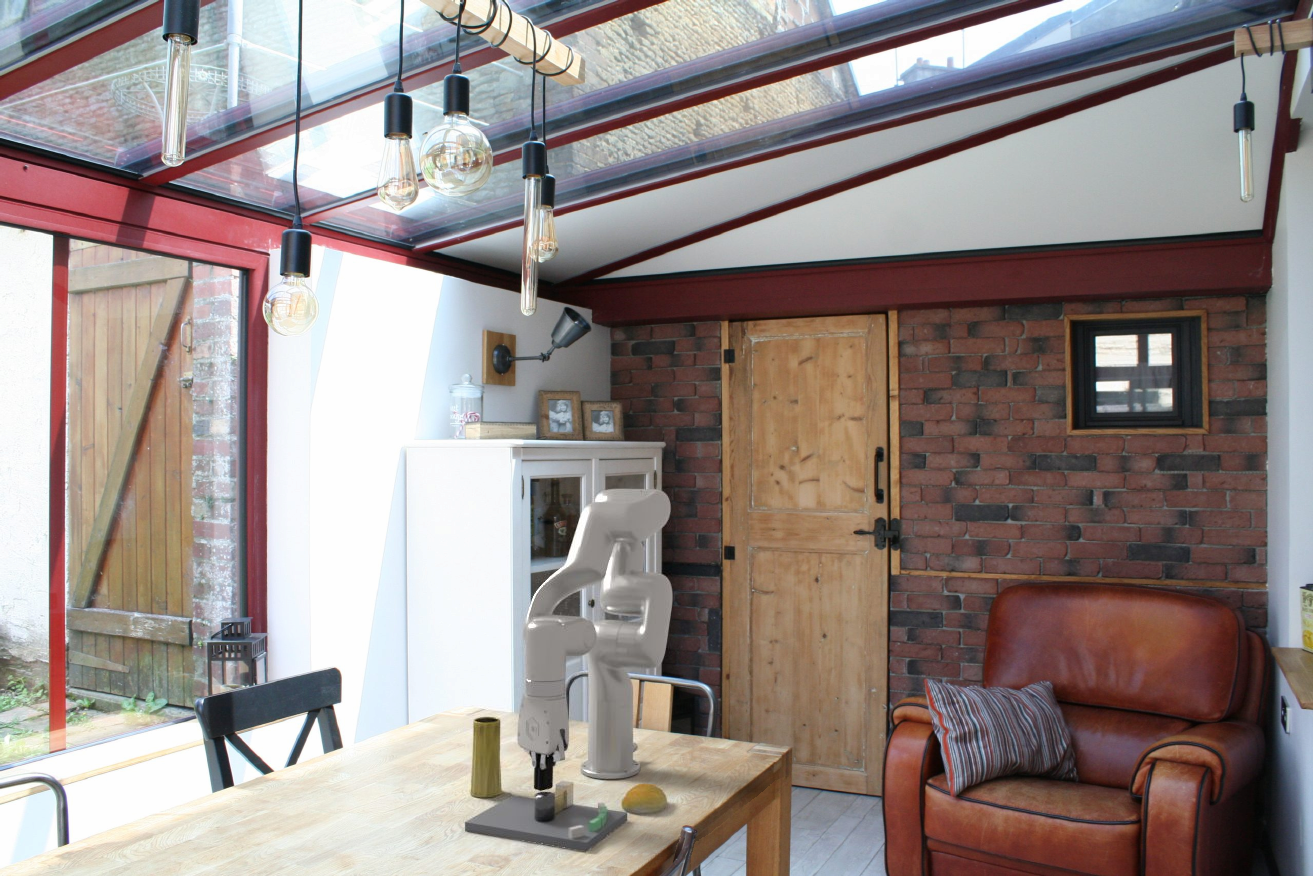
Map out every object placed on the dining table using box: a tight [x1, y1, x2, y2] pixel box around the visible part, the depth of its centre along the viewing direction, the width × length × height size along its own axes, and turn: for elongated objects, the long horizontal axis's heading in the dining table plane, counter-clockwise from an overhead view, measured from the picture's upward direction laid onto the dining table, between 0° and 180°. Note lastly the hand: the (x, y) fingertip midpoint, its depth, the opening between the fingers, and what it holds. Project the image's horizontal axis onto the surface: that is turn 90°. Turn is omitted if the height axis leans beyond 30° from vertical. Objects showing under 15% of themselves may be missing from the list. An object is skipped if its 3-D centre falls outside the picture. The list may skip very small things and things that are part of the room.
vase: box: [470, 716, 503, 799], centre depth 193 cm, size 6×6×14 cm
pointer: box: [534, 780, 574, 821], centre depth 177 cm, size 10×4×4 cm, turn 157°
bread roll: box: [621, 783, 668, 815], centre depth 185 cm, size 8×9×4 cm
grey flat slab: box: [464, 795, 628, 852], centre depth 175 cm, size 16×24×3 cm, turn 67°
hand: (543, 788), depth 182 cm, fingers closed
